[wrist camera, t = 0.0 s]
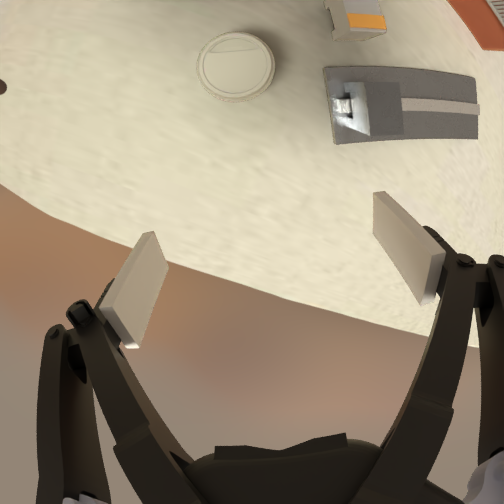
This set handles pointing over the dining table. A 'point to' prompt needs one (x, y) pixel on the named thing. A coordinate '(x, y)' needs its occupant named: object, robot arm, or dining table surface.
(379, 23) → the module
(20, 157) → the dining table surface
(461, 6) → the control panel
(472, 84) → the rail board
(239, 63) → the coffee cup
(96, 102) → the dining table surface
